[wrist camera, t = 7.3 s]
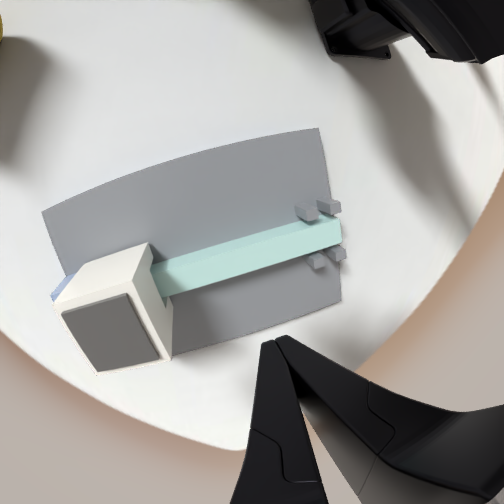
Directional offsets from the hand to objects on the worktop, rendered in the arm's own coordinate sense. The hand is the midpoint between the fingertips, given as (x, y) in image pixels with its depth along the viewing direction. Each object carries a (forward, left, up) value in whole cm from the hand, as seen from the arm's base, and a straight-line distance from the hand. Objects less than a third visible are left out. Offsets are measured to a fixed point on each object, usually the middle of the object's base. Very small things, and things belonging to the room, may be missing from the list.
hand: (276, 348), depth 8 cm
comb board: (+2, +1, -12) cm, 12 cm away
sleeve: (+7, +1, -10) cm, 13 cm away
